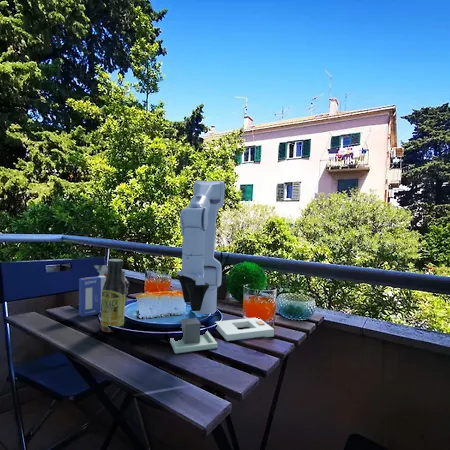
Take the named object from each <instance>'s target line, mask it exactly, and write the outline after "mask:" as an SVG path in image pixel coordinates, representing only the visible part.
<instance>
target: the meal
mask: <svg viewBox="0 0 450 450" xmlns="http://www.w3.org/2000/svg"><path fill="white" fill-rule="evenodd" d="M93 267H94V268H95V270H96V271H97V273H98V274H99V275H98V276H105V277H106V278H107V275H108V265H99V264H98V265H97V264H96V265H94V264H93ZM125 275H126V271H125V270H123V269H122V278H123V280H124V282H125V303H127V302H128V297H127V295H128V294H129V291H128V290H129V286H130V282H129V281H128V279H127V278H126V276H125ZM126 297H127V298H126Z"/></svg>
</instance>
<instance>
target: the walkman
mask: <svg viewBox="0 0 450 450" xmlns="http://www.w3.org/2000/svg"><path fill="white" fill-rule="evenodd" d="M105 281H106V277H105V276H99V275H97V276H90V277H82V278H79V279H78V315H79V316H80V317H82V318H83V317H88V316H94V315H98V313H99V312H100V311H101V303H102V289H103V287H104V284H105ZM99 314H100V313H99Z"/></svg>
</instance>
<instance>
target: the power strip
mask: <svg viewBox="0 0 450 450" xmlns="http://www.w3.org/2000/svg"><path fill="white" fill-rule="evenodd" d="M258 318H259V317H258ZM258 318H256V317H248V318H246V317H245V318H238V319H227V320H218V321H217V320H216V321H214V324H215V323H216V324H217V327H216V328H215V329H216V331H217V332H218V333H219V334H220V335H221V336H222V337H223V338H224V340H225V341H226V342H229V341H237V340H246V339H253V338H261V337H264V338H272V337H275V329H274V328H273V327H272V326H271V325H269V323H266V322H265V321H264V320H263V319H261V318H260V319H258ZM240 328H243V329H240Z"/></svg>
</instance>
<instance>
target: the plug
mask: <svg viewBox="0 0 450 450" xmlns="http://www.w3.org/2000/svg"><path fill="white" fill-rule="evenodd" d="M198 319H199V318H197V317H194V318H193V317H192V318H182V319H181V328H182V332H183V337H182V340H183V342H184V344H190V343H198V342H200V326H201V325H202V324H201V322H200V321H199V320H198Z"/></svg>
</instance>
